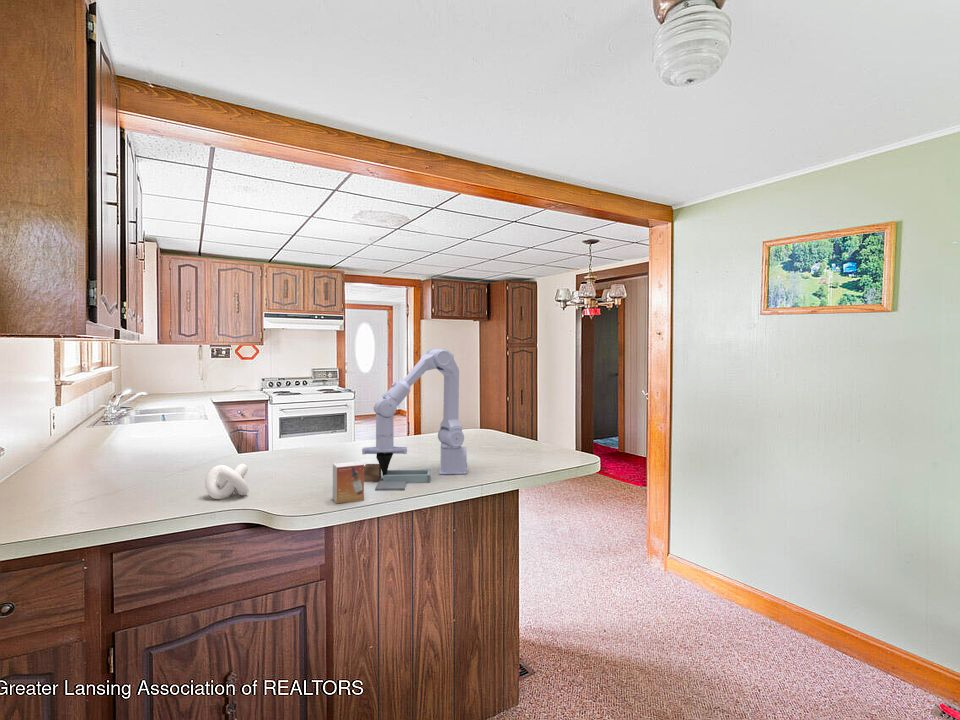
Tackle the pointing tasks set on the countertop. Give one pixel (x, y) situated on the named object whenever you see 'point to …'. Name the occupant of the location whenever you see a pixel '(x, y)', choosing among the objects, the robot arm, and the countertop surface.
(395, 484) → the coaster
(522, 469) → the countertop surface
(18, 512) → the countertop surface
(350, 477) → the small box
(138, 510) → the countertop surface
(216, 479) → the white knot sculpture
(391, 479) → the u-shaped bracket
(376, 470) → the block
